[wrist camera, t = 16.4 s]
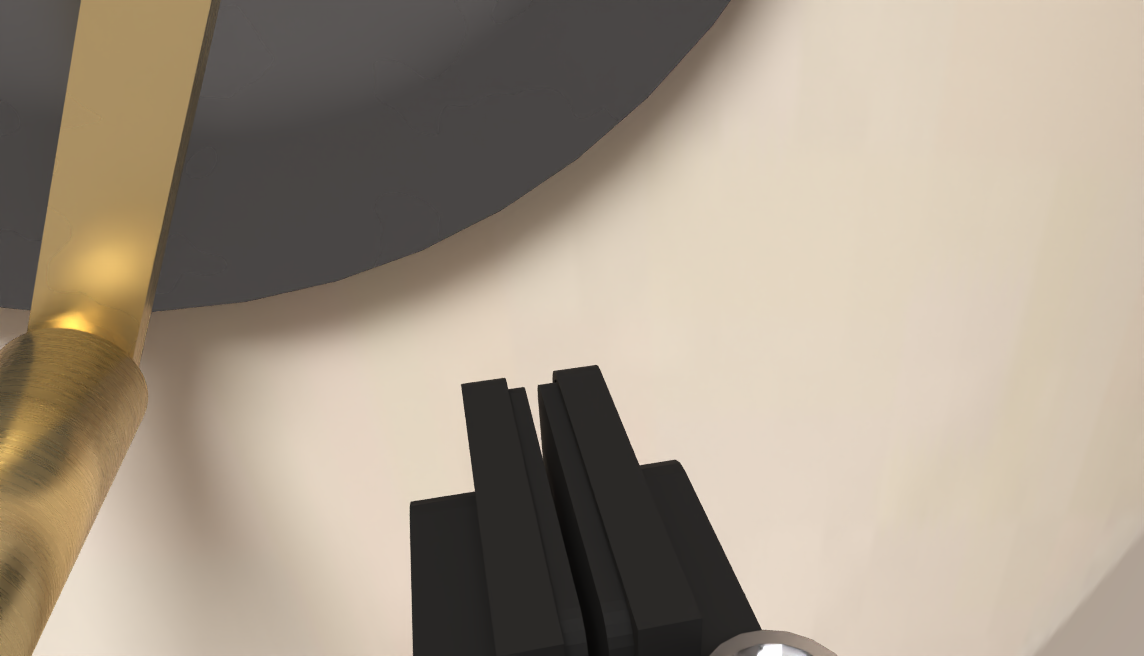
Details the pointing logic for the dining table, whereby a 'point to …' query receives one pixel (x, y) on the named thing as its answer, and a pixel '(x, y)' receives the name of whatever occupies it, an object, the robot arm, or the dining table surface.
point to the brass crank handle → (93, 291)
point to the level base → (345, 127)
